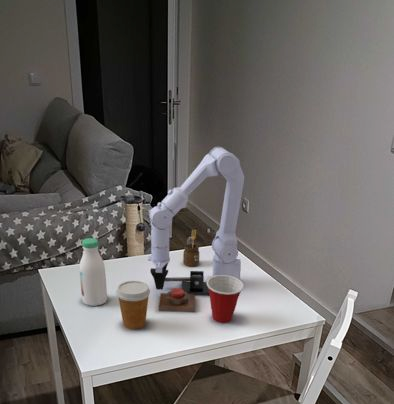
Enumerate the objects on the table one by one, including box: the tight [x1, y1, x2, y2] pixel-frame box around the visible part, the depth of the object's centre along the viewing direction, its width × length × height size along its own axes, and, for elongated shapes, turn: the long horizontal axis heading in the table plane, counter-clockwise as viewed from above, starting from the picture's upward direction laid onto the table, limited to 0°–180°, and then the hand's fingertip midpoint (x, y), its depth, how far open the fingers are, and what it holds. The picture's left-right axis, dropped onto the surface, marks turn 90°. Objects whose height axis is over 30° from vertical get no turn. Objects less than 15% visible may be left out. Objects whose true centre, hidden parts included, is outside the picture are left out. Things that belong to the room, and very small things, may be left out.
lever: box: [164, 274, 201, 283], centre depth 162 cm, size 15×3×3 cm, turn 90°
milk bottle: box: [79, 237, 108, 307], centre depth 150 cm, size 8×8×20 cm
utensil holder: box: [182, 229, 200, 267], centre depth 180 cm, size 6×6×12 cm
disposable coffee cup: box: [115, 280, 151, 331], centre depth 140 cm, size 10×10×12 cm
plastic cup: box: [206, 275, 245, 324], centre depth 145 cm, size 11×11×12 cm
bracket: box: [180, 270, 210, 297], centre depth 163 cm, size 10×8×6 cm
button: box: [170, 287, 184, 298], centre depth 153 cm, size 4×4×2 cm
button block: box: [158, 290, 196, 313], centre depth 154 cm, size 11×9×4 cm
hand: (160, 283), depth 163 cm, fingers open, 7 cm apart
